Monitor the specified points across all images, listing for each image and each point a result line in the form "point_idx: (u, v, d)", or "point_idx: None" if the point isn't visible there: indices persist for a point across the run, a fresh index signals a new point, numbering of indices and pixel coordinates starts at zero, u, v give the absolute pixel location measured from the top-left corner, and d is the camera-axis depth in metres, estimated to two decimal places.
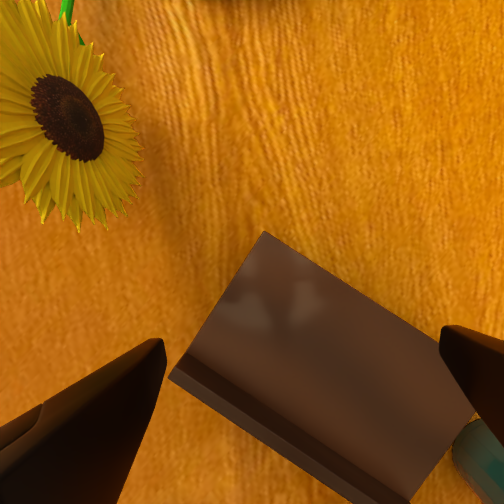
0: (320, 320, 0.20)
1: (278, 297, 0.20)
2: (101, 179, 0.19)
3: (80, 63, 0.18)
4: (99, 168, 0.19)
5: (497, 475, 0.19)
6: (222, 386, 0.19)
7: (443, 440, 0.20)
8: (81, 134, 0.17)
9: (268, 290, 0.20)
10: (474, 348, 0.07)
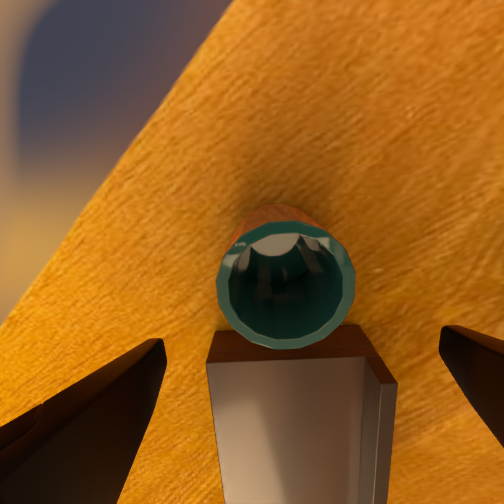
0: (263, 494, 0.22)
1: None
2: None
3: None
4: None
5: None
6: None
7: (288, 368, 0.19)
8: None
9: None
10: (474, 348, 0.07)
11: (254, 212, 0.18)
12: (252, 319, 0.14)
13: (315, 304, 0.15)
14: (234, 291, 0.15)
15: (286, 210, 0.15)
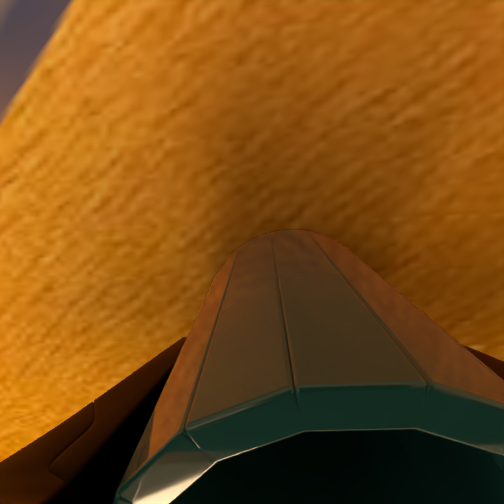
0: None
1: None
2: None
3: None
4: None
5: None
6: None
7: None
8: None
9: None
10: None
11: (248, 253, 0.09)
12: None
13: None
14: (189, 496, 0.05)
15: (327, 265, 0.06)
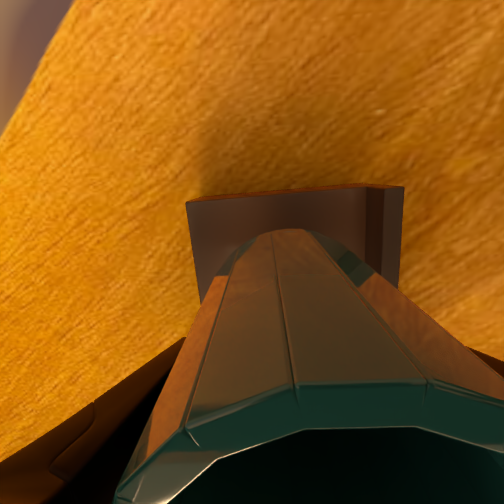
0: None
1: None
2: None
3: None
4: None
5: None
6: None
7: (279, 205, 0.17)
8: None
9: None
10: None
11: (248, 252, 0.09)
12: None
13: None
14: (189, 495, 0.05)
15: (327, 264, 0.06)
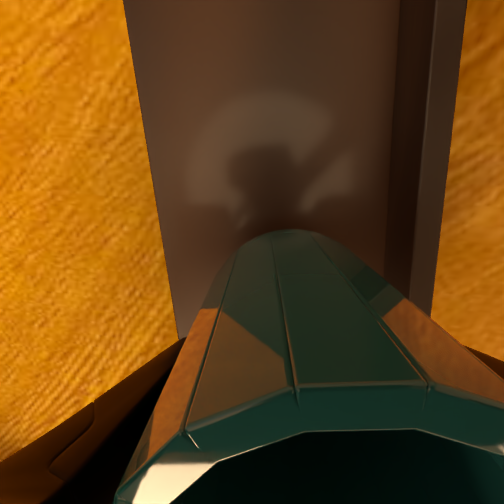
0: (229, 255, 0.14)
1: None
2: None
3: None
4: None
5: None
6: None
7: None
8: None
9: None
10: None
11: (248, 253, 0.09)
12: None
13: None
14: (189, 496, 0.05)
15: (327, 265, 0.06)
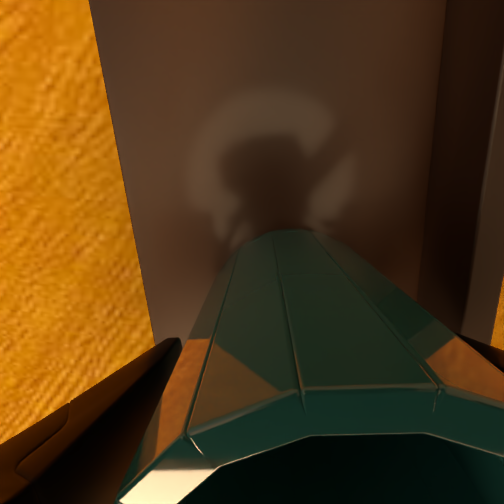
0: None
1: None
2: None
3: None
4: None
5: None
6: None
7: None
8: None
9: None
10: None
11: (249, 253, 0.08)
12: None
13: None
14: (190, 499, 0.05)
15: (330, 265, 0.06)
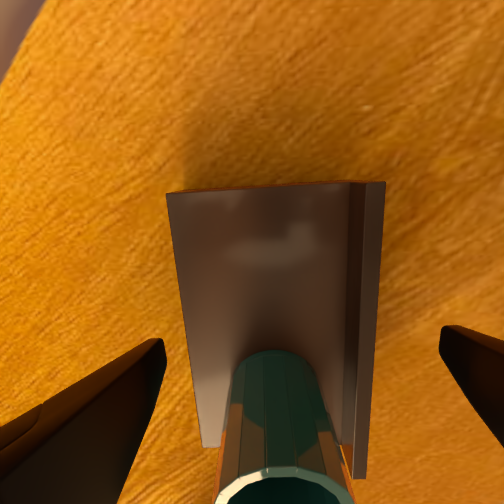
0: None
1: None
2: None
3: None
4: None
5: None
6: (347, 422, 0.19)
7: (261, 198, 0.16)
8: None
9: None
10: (474, 348, 0.07)
11: (252, 374, 0.17)
12: None
13: (315, 497, 0.15)
14: None
15: (285, 399, 0.15)
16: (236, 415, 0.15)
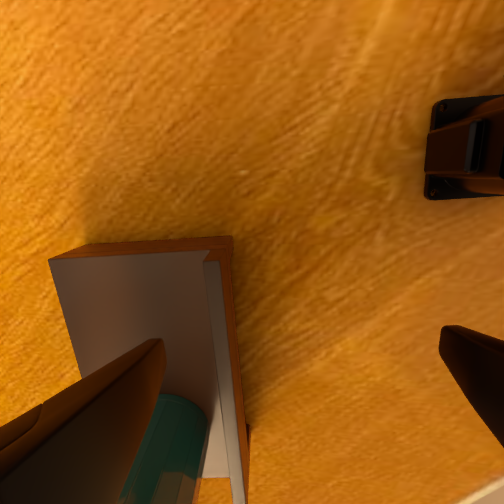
0: None
1: None
2: None
3: None
4: None
5: None
6: None
7: (133, 264, 0.18)
8: None
9: None
10: (474, 348, 0.07)
11: None
12: None
13: None
14: None
15: (144, 450, 0.16)
16: None
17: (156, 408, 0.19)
